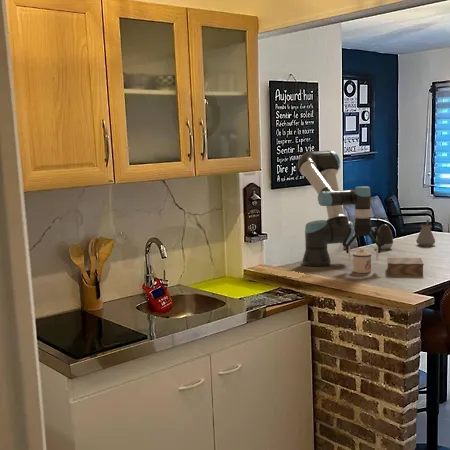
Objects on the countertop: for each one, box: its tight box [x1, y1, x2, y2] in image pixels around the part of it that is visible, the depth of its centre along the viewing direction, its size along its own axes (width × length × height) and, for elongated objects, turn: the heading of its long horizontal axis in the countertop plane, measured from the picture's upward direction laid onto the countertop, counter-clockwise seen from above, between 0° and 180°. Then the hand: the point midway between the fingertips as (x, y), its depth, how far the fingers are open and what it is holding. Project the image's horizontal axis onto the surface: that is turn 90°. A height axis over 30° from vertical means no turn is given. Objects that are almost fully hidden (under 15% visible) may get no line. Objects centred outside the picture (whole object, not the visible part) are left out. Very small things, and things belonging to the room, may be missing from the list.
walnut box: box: [386, 257, 425, 277], centre depth 289 cm, size 16×16×6 cm
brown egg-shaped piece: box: [375, 223, 394, 250], centre depth 361 cm, size 10×10×15 cm
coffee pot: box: [415, 219, 436, 247], centre depth 373 cm, size 21×12×15 cm, turn 156°
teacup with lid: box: [352, 248, 372, 274], centre depth 294 cm, size 12×9×12 cm
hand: (363, 259), depth 294 cm, fingers open, 13 cm apart
